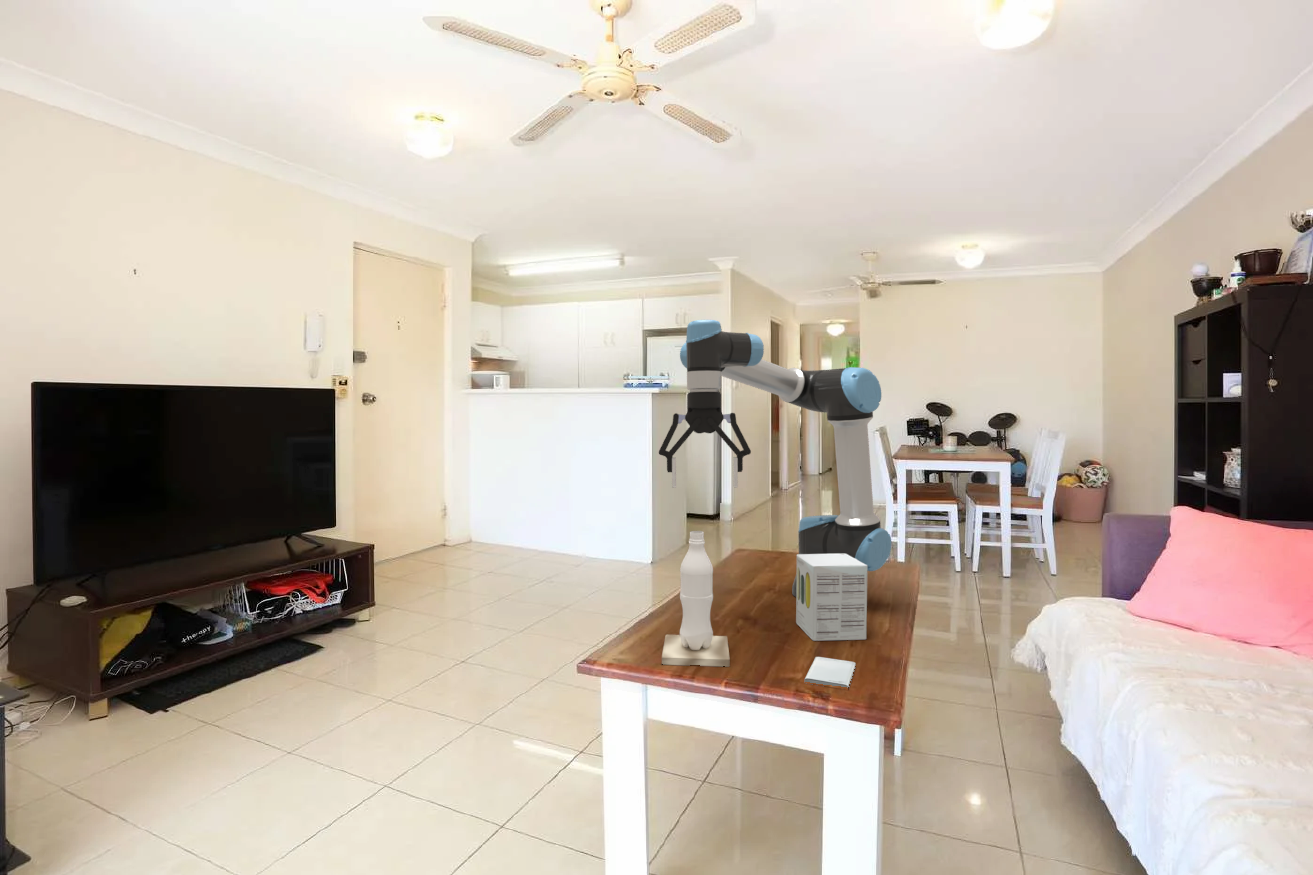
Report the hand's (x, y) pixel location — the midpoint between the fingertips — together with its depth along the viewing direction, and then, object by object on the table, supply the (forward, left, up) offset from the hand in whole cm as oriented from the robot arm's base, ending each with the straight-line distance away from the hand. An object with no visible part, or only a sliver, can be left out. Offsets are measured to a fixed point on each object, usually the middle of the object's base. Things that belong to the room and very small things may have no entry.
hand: (704, 487), depth 142 cm
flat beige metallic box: (+2, +4, -36) cm, 36 cm away
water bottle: (+2, +4, -35) cm, 35 cm away
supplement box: (-30, -13, -36) cm, 49 cm away
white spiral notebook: (-25, +14, -37) cm, 47 cm away
